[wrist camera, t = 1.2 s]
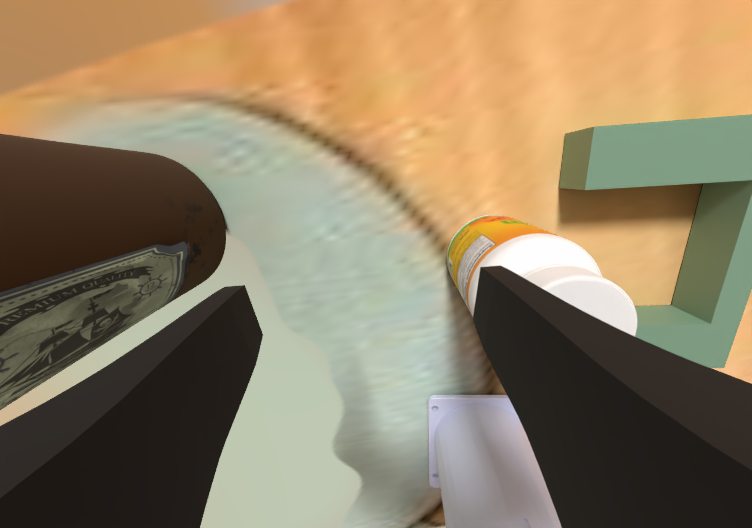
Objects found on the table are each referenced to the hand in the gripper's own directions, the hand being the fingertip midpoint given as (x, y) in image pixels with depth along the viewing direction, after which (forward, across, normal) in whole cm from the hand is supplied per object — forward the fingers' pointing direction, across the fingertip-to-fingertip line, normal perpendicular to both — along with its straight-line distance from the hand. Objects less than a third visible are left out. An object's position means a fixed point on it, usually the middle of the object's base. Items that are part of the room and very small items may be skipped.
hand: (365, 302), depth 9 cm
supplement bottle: (+9, -8, +4) cm, 13 cm away
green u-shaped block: (+8, -16, +4) cm, 18 cm away
